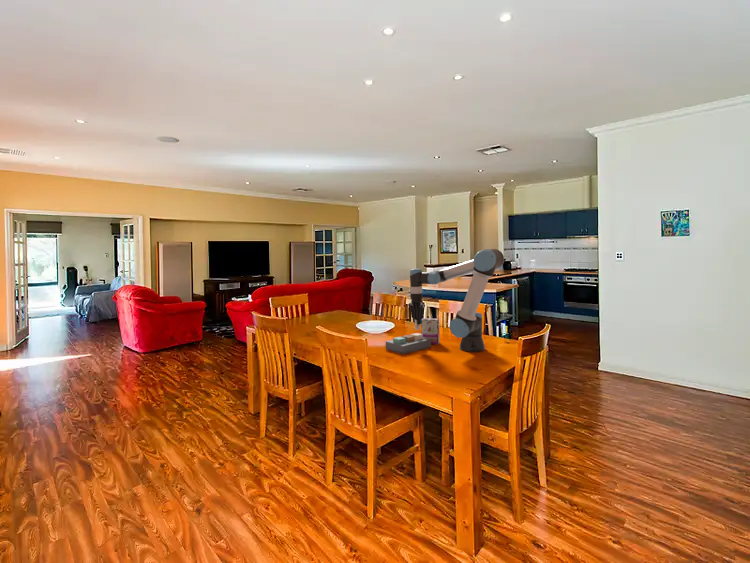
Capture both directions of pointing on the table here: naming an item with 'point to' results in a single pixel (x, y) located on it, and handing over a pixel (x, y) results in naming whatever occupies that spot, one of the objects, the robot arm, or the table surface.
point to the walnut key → (409, 338)
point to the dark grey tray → (408, 346)
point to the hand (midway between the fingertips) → (417, 329)
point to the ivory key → (417, 336)
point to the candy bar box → (430, 329)
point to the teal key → (399, 340)
